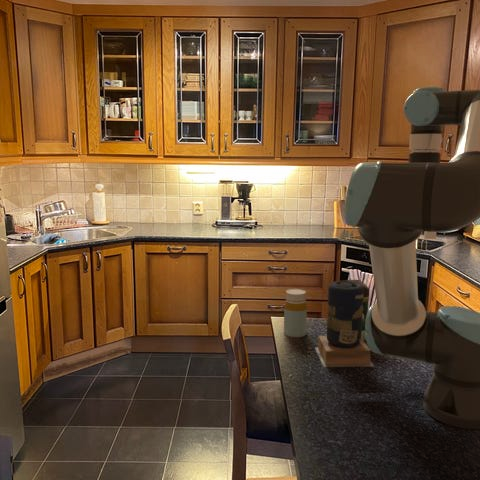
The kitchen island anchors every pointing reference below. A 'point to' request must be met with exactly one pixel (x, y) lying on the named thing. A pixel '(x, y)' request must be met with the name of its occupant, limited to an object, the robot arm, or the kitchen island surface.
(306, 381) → the kitchen island surface
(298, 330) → the bottle
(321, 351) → the base block
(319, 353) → the board
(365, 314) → the coffee jar
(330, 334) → the canister
